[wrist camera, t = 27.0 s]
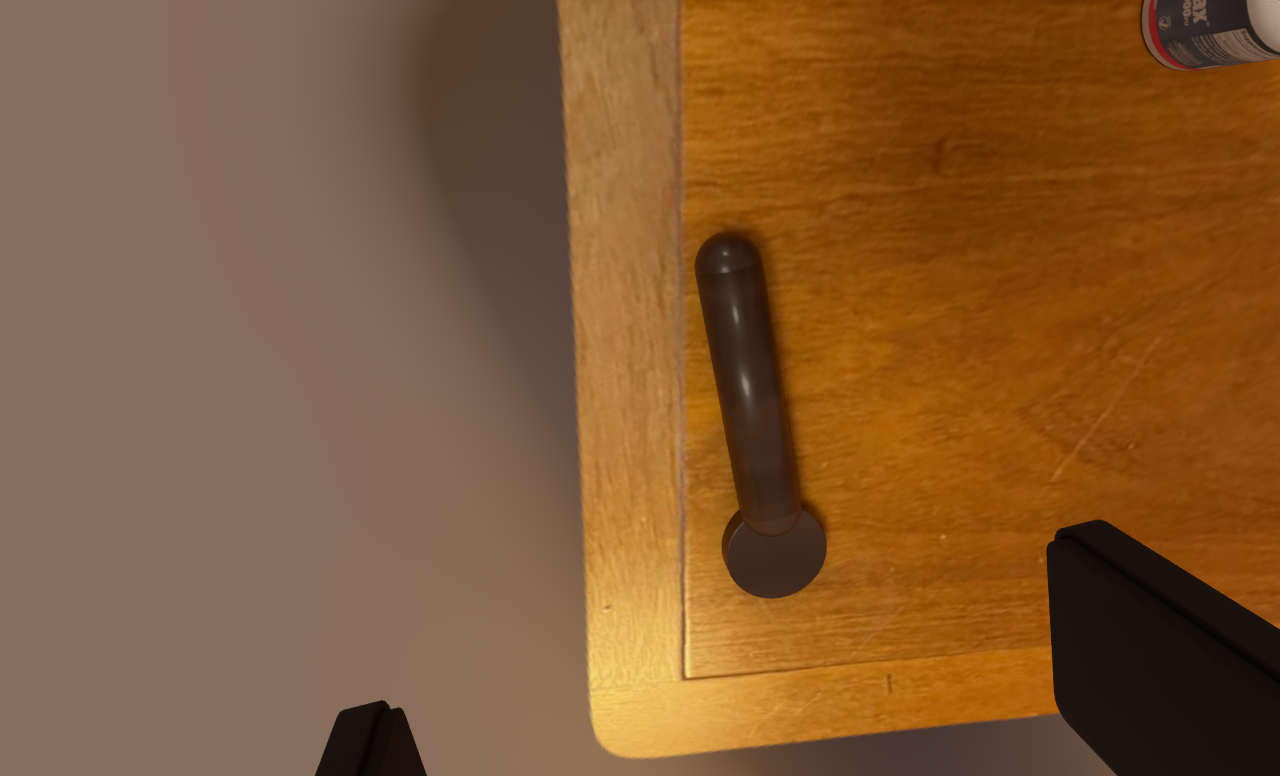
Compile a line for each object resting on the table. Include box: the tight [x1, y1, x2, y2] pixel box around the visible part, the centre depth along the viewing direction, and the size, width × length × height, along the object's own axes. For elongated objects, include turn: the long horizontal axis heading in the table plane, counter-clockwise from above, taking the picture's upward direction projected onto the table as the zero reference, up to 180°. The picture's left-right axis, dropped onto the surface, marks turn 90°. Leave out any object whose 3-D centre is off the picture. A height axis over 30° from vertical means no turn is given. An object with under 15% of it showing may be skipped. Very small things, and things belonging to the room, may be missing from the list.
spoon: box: [695, 232, 827, 598], centre depth 37 cm, size 19×5×3 cm, turn 12°
